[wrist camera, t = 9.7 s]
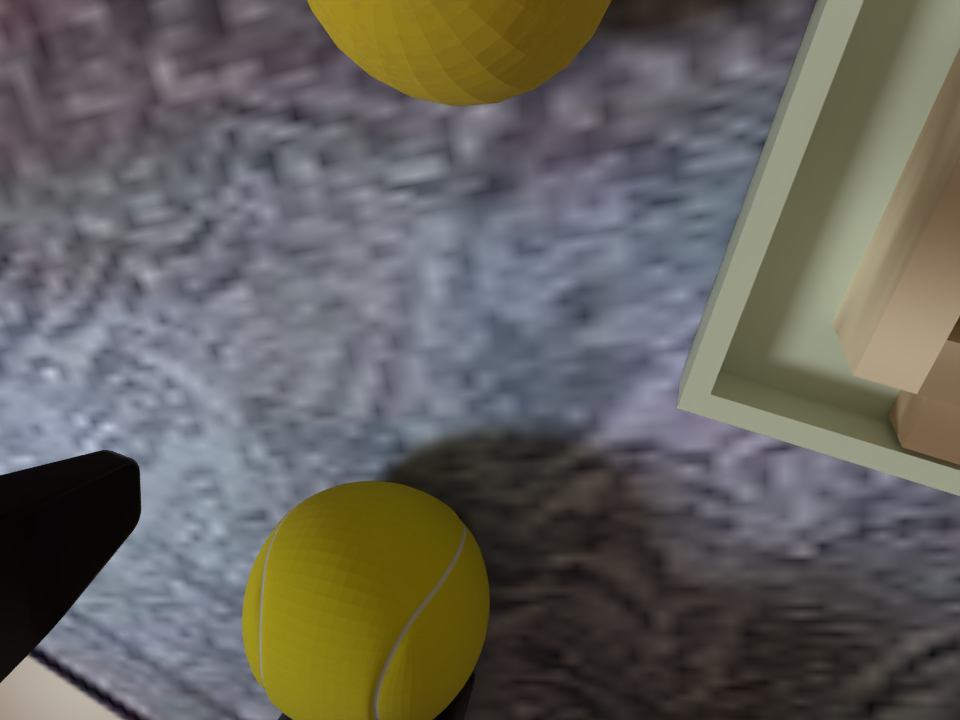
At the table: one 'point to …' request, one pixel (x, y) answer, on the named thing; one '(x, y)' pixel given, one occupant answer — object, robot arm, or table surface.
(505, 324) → the table surface
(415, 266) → the table surface
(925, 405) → the wooden rectangular frame
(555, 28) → the lemon
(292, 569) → the tennis ball
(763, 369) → the tray
